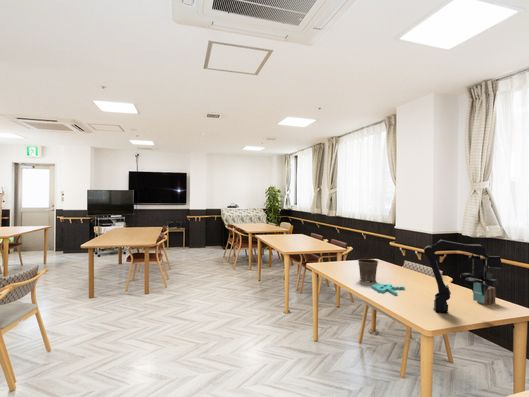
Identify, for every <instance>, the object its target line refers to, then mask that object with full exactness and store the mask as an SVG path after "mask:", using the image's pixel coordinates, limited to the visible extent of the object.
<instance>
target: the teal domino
mask: <svg viewBox="0 0 529 397" xmlns="http://www.w3.org/2000/svg"><path fill="white" fill-rule="evenodd" d="M481 284H482V283H479V282H476V283H473V291H472V294H473V295H472V298H473V301H475V302H477V301H478V302H481V303H484V296H483V295H482V290H481Z"/></svg>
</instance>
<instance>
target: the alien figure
mask: <svg viewBox="0 0 529 397" xmlns="http://www.w3.org/2000/svg"><path fill="white" fill-rule="evenodd" d="M371 289H372V290H374V289H375V290H377V291H376V293H380V292H383V293H382V294H384V293H386V292H388V293H390V292H391V293H390V294H391V295H393V296H398V291H400V290H403V291H404V290H405V289H406V288H405V286H393V284H391V283H382V284H381V283H374V284H372V285H371ZM392 289H393V290H392ZM397 289H398V290H397ZM396 290H397V291H396ZM385 291H386V292H385Z"/></svg>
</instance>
